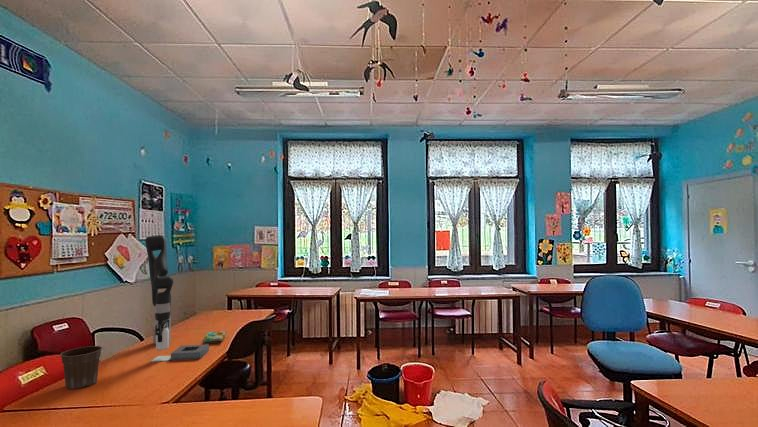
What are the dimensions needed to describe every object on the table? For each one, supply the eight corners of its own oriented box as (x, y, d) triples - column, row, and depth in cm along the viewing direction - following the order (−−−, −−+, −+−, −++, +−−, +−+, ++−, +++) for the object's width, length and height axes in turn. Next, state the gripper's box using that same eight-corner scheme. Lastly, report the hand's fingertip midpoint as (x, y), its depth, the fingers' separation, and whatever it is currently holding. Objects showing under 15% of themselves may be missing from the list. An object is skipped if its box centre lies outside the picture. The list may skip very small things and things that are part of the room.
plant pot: (52, 393, 181) (52, 357, 182) (69, 380, 196) (70, 347, 197) (93, 388, 185) (94, 353, 186) (107, 376, 201) (107, 344, 201)
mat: (150, 362, 223) (150, 361, 223) (157, 357, 232) (157, 356, 232) (167, 361, 224) (167, 360, 224) (173, 356, 233) (173, 355, 233)
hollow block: (170, 360, 225) (170, 353, 225) (181, 352, 241) (181, 345, 241) (200, 359, 227) (200, 352, 227) (208, 350, 243) (208, 344, 243)
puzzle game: (226, 329, 277) (221, 337, 258) (226, 336, 277) (221, 344, 258) (208, 331, 275) (202, 338, 255) (208, 338, 274) (202, 345, 255)
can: (154, 349, 228) (154, 328, 229) (166, 346, 233) (166, 325, 234) (158, 351, 224) (158, 329, 224) (170, 348, 229) (170, 327, 229)
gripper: (161, 309, 236) (161, 337, 235) (150, 313, 222) (149, 344, 221) (174, 308, 237) (174, 336, 236) (164, 313, 223) (164, 343, 222)
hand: (162, 340), depth 229 cm, fingers closed on can, 6 cm apart
